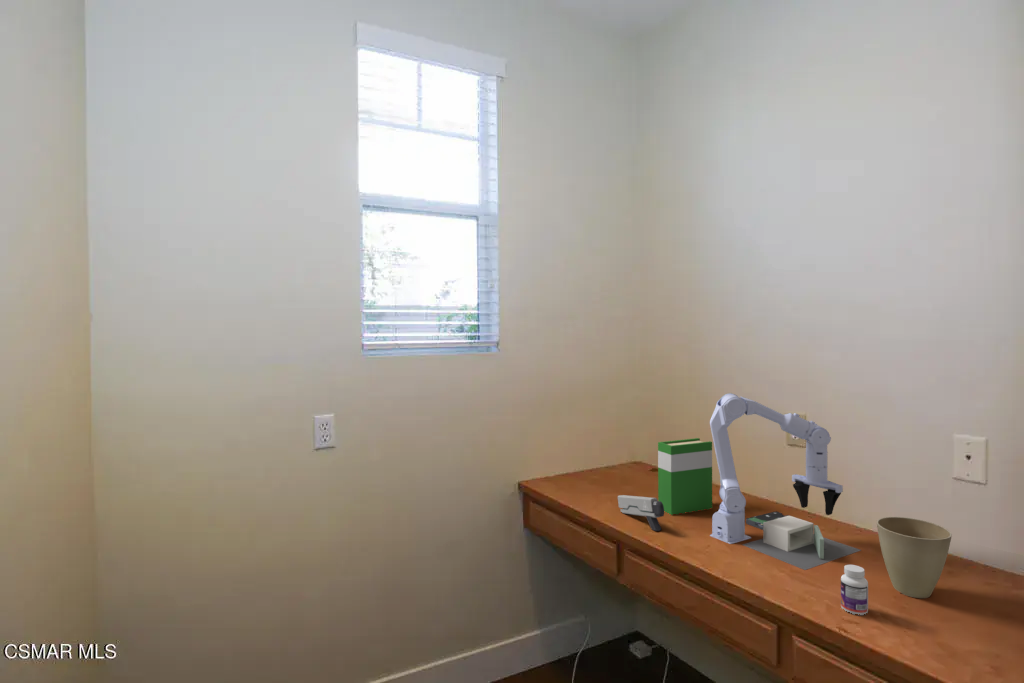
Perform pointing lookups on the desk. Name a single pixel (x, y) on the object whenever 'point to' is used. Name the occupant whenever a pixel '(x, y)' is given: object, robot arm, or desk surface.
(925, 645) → the desk surface
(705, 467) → the hardback book
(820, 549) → the cabinet door
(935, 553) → the plant pot
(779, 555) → the mat
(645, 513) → the gun
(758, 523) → the disk drive
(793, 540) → the cabinet
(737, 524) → the robot arm
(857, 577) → the pill bottle
